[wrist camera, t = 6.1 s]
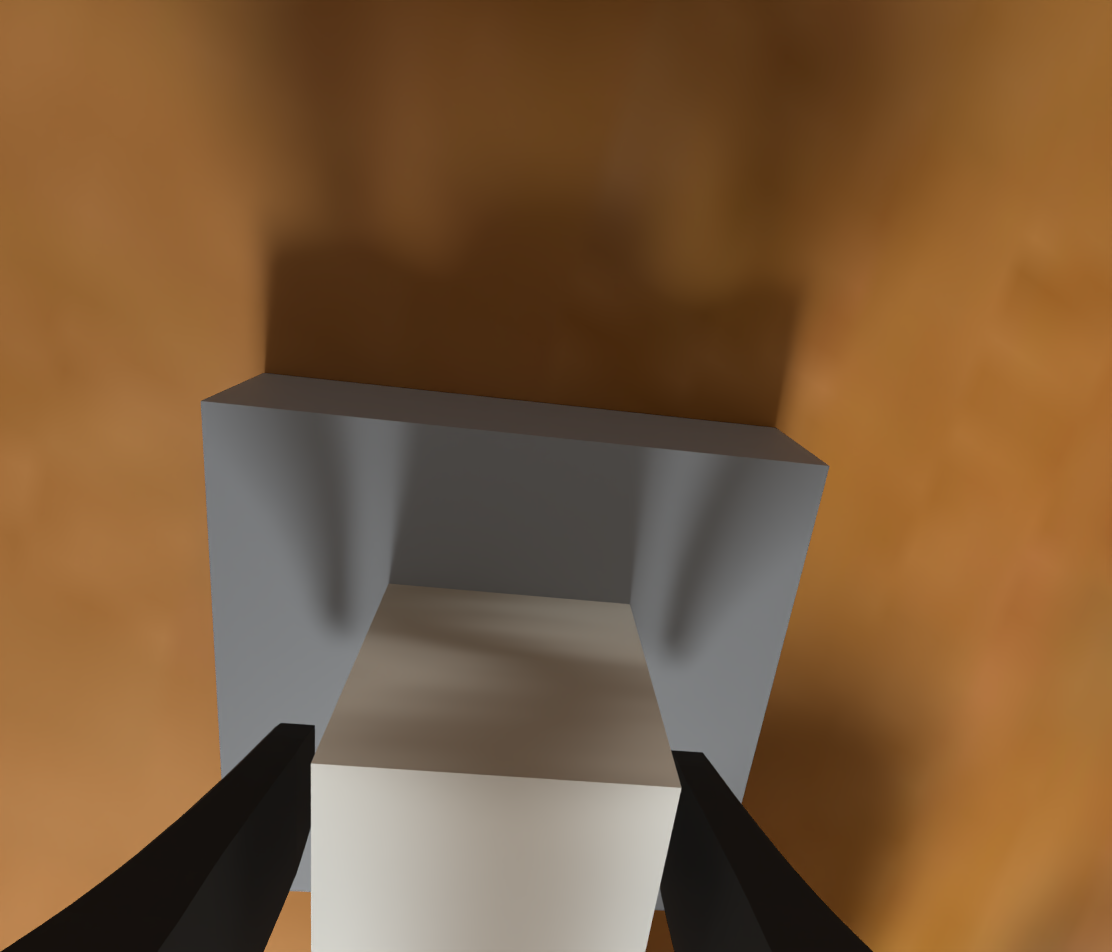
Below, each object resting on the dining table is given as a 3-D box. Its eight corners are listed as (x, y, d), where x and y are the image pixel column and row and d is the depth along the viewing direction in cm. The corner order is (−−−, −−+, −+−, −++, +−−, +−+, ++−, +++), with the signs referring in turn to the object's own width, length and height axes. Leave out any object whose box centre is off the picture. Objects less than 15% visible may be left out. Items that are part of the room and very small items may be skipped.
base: (273, 791, 19) (227, 887, 16) (263, 372, 15) (200, 400, 12) (686, 817, 20) (712, 913, 17) (775, 428, 16) (829, 466, 13)
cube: (380, 779, 15) (310, 1021, 10) (388, 583, 13) (310, 762, 9) (597, 793, 15) (626, 1033, 11) (630, 604, 14) (681, 788, 9)
